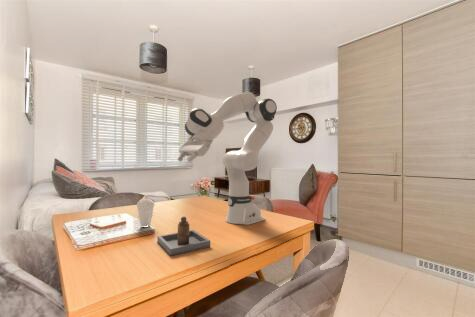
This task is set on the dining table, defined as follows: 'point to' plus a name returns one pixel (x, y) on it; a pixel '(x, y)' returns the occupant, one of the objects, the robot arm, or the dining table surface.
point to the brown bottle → (183, 232)
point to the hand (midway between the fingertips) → (183, 160)
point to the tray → (172, 247)
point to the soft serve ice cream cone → (145, 210)
